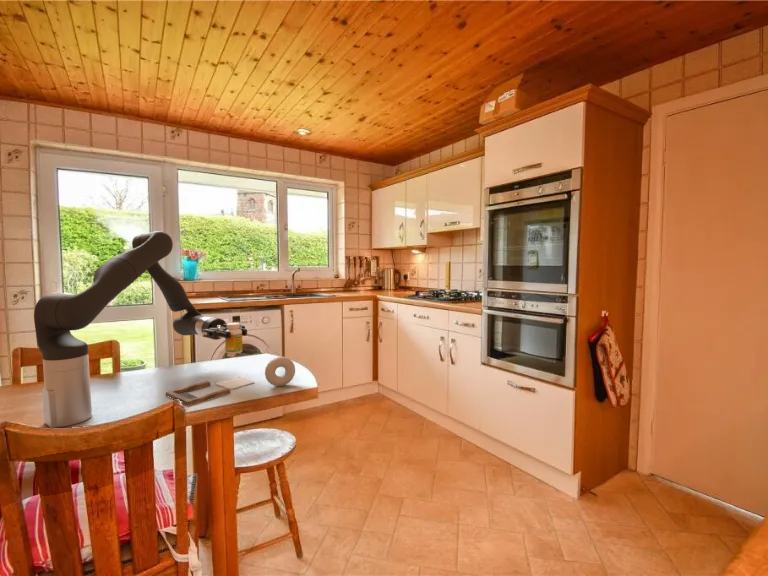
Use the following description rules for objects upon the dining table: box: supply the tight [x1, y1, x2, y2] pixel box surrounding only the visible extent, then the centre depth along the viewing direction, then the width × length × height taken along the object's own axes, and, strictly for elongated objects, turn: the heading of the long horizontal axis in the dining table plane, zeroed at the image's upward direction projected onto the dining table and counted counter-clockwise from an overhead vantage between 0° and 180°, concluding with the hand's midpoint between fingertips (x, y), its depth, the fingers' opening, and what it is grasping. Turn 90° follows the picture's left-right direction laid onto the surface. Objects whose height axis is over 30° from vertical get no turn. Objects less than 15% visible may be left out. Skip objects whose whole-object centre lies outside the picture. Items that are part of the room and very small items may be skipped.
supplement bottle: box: [224, 322, 243, 355], centre depth 130 cm, size 5×5×10 cm
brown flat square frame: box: [165, 380, 231, 407], centre depth 121 cm, size 14×14×1 cm
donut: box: [264, 356, 296, 387], centre depth 129 cm, size 10×4×10 cm, turn 116°
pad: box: [215, 376, 255, 391], centre depth 131 cm, size 9×9×1 cm
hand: (238, 333), depth 129 cm, fingers closed on supplement bottle, 5 cm apart
